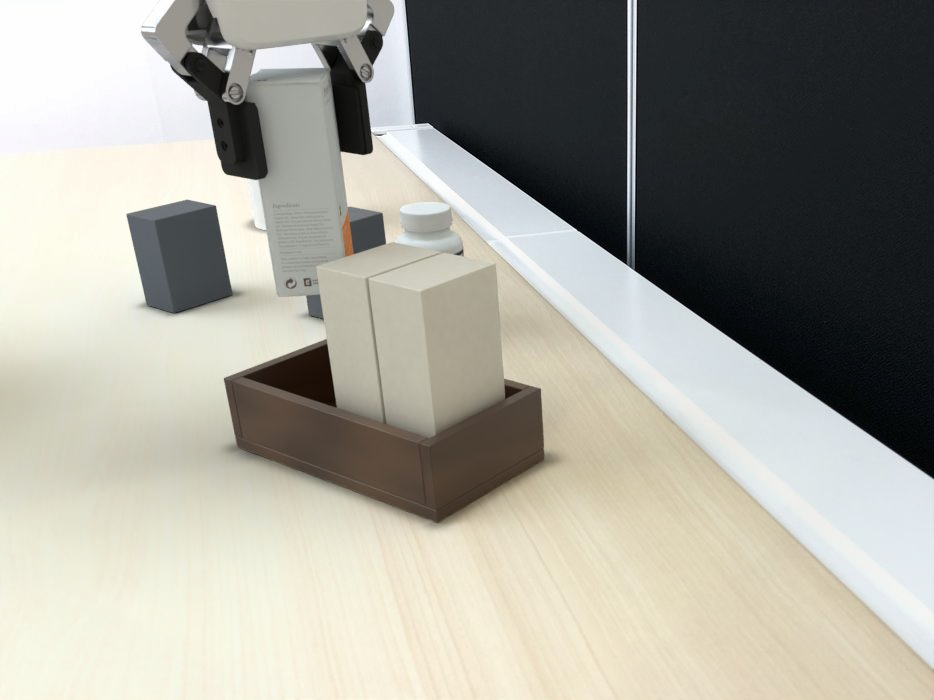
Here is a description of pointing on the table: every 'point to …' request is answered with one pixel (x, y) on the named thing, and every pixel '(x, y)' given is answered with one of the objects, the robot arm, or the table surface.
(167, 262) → the grey block back
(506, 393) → the brown wooden open box
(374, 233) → the grey block front
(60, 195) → the table surface
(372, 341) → the cream box
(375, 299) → the cream box
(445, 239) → the pill bottle
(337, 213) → the cosmetic box
